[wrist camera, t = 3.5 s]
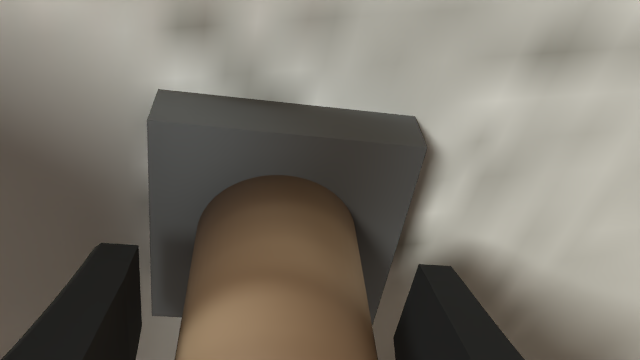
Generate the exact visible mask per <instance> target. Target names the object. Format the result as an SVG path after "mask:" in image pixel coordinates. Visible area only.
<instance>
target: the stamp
mask: <svg viewBox="0 0 640 360" xmlns="http://www.w3.org/2000/svg"><path fill="white" fill-rule="evenodd" d="M147 134H148V175H149V216H150V257H151V298H152V316H168V317H182V320H181V326H180V332H179V338H178V344H177V350H176V356H175V360H378V357H377V352H376V346H375V340H374V334H373V329H372V325H373V322H374V318H375V315H376V312H377V309H378V305H379V302H380V299H381V296H382V293H383V289H384V286H385V283H386V280H387V276H388V273H389V270H390V267H391V264H392V260H393V257H394V254H395V251H396V247H397V244H398V241H399V238H400V234H401V231H402V228H403V225H404V222H405V218H406V215H407V212H408V209H409V205H410V202H411V199H412V196H413V193H414V189H415V186H416V183H417V180H418V176H419V173H420V170H421V167H422V164H423V160H424V157H425V154H426V151H427V145H426V143H425V140H424V138H423V135H422V133H421V130H420V128H419V125H418V123H417V120H416V118H415V116H406V115H397V114H387V113H378V112H368V111H359V110H349V109H340V108H330V107H321V106H312V105H302V104H293V103H283V102H274V101H264V100H255V99H245V98H236V97H226V96H217V95H208V94H198V93H189V92H179V91H170V90H160V89H158V91H157V94H156V97H155V100H154V102H153V105H152V108H151V111H150V114H149V116H148V119H147Z"/></svg>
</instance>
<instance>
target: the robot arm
mask: <svg viewBox="0 0 640 360" xmlns="http://www.w3.org/2000/svg"><path fill="white" fill-rule="evenodd" d="M141 327H142V320H141V296H140V272H139V249H138V245H124V244H109V243H101V244H99V245H98V246H96V247H95V248H94V249H93V251H92V252H91V253H90V255H89V256H88V258H87V259H86V260H85V262H84V263H83V264H82V266H81V267H80V268H79V269H78V271H77V272H76V273H75V275H74V276H73V277H72V278H71V280H70V281H69V282H68V284H67V285H66V286H65V287H64V288H63V290H62V291H61V292H60V293H59V295H58V296H57V297H56V298H55V299H54V301H53V302H52V303H51V304H50V306H49V307H48V308H47V309H46V310H45V311H44V312H43V314H42V315H41V316H40V317H39V318H38V319H37V320H36V322H35V323H34V324H33V325H32V326H31V327H30V328H29V330H28V331H27V332H26V333H25V334H24V335H23V336H22V338H21V339H20V340H19V341H18V342H17V343H16V344H15V345H14V347H13V348H12V349H11V350H10V351H9V352H8V353H7V354H6V355H5V356H4V357H3V358H2V359H1V360H136V355H137V349H138V344H139V338H140V332H141ZM394 347H395V357H396V360H524V358H523V357H522V356H521V355H520V354H519V352H518V351H517V350H516V349H515V348H514V346H513V345H512V344H511V343H510V341H509V340H508V339H507V338H506V336H505V335H504V334H503V333H502V331H501V330H500V329H499V328H498V326H497V325H496V324H495V322H494V321H493V320H492V319H491V317H490V316H489V315H488V314H487V312H486V311H485V310H484V308H483V307H482V306H481V304H480V303H479V302H478V301H477V299H476V298H475V297H474V295H473V294H472V293H471V292H470V290H469V289H468V288H467V286H466V285H465V284H464V282H463V281H462V280H461V278H460V277H459V276H458V275H457V273H456V272H455V271H454V270H453V268H452V267H451V266H438V265H423V264H419V265H418V268H417V271H416V274H415V277H414V280H413V283H412V286H411V289H410V291H409V294H408V297H407V300H406V303H405V306H404V309H403V312H402V315H401V318H400V320H399V323H398V326H397V329H396V332H395V335H394Z"/></svg>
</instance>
